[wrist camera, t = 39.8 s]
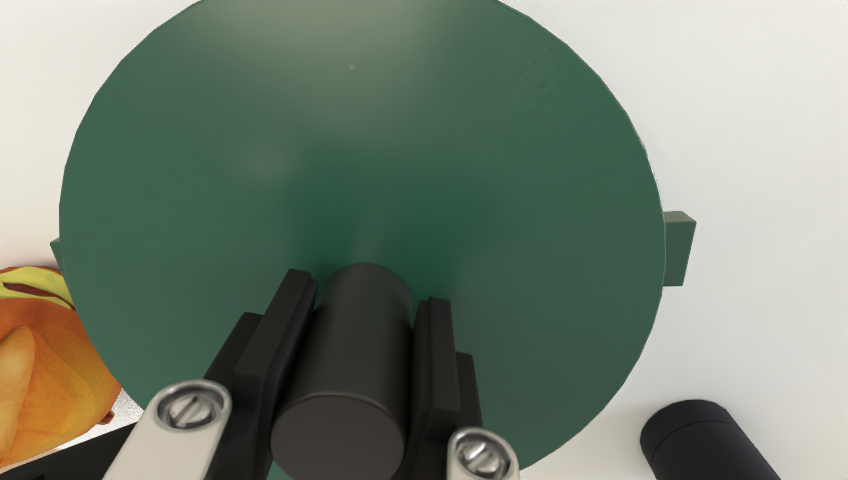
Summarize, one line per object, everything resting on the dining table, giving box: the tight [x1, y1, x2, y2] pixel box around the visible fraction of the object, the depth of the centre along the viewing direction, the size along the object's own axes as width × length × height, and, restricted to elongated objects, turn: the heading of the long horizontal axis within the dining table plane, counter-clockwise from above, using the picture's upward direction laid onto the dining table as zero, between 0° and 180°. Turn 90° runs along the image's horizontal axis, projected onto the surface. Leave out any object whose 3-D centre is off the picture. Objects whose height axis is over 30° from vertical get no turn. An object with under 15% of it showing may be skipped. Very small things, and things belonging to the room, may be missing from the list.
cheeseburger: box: [0, 266, 121, 468], centre depth 26 cm, size 10×11×10 cm
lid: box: [59, 0, 666, 480], centre depth 12 cm, size 17×17×6 cm
